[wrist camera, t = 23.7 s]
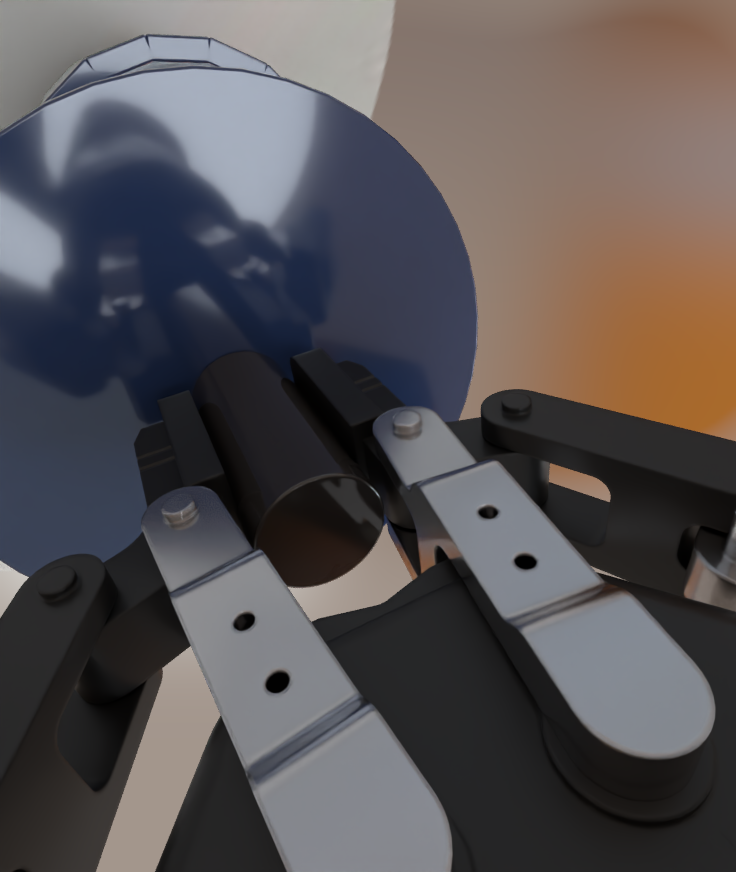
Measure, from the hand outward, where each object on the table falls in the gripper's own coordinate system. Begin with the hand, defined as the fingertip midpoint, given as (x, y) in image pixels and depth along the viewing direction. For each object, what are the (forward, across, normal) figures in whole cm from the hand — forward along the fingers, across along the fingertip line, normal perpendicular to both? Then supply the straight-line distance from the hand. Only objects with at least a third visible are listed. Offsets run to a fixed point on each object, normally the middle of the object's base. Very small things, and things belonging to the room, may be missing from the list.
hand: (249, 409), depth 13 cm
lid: (+1, 0, 0) cm, 1 cm away
